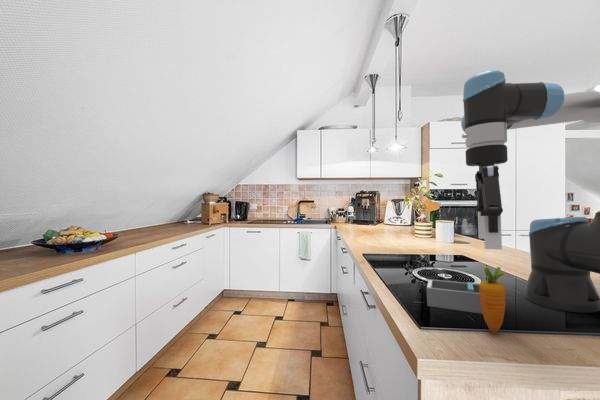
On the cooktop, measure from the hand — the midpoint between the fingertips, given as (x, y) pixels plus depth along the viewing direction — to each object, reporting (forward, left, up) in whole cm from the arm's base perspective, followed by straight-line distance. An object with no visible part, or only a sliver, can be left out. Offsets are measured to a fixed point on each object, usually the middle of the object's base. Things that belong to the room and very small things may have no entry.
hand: (488, 243), depth 59 cm
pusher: (+3, -15, -19) cm, 24 cm away
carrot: (0, 0, -20) cm, 20 cm away
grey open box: (+5, -15, -20) cm, 25 cm away
